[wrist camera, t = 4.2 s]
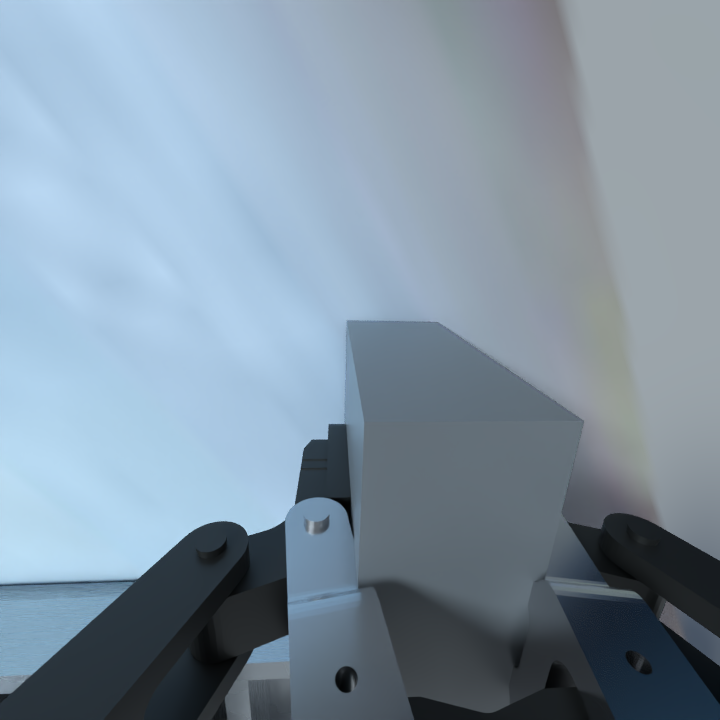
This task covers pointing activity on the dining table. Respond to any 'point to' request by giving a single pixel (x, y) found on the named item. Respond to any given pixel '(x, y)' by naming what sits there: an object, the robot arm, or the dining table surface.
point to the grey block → (451, 502)
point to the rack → (83, 604)
